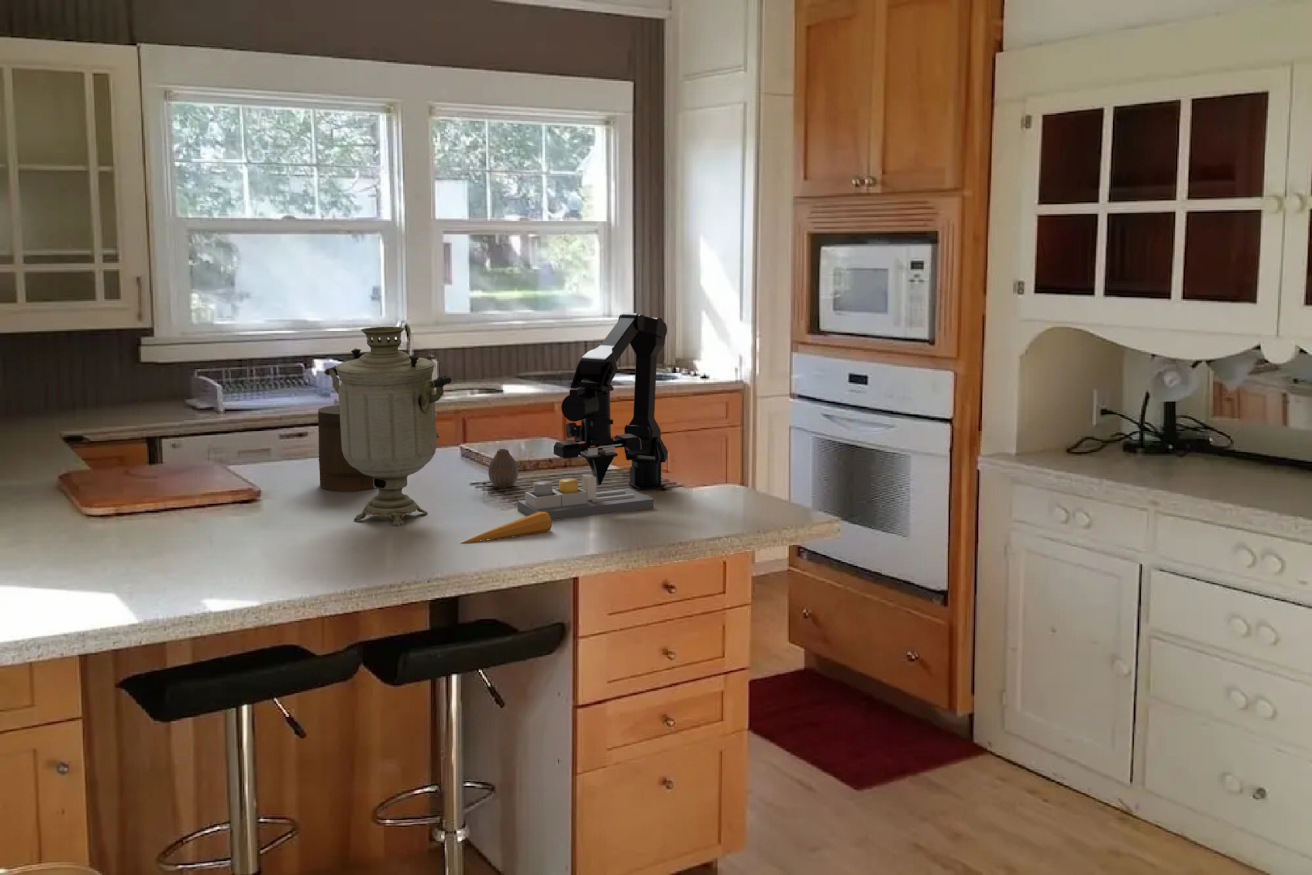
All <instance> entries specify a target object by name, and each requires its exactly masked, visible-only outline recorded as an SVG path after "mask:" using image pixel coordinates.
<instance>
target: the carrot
mask: <svg viewBox="0 0 1312 875" xmlns="http://www.w3.org/2000/svg"><path fill="white" fill-rule="evenodd" d="M552 528H553V520H552V518H551V516H549V514H548V513H546V512H537V513H534V514H531V515H529V516H528V515H526V516H524V517H522V518H518V519H516V520H513V521H511V522H508V523H506V524H503V525H501V526H498V527H495V528H492V529H490V530H488V531H484V532H483V533H480V534H478V535H475V536H473V537H471V538H469V539H467V540H464V541H462V542H461V544H468V543H467V542H471V543H475V542H474V541H480V540H487V539H495V540H500V539H499V538H502V539H506V538H505V537H510V538H513V537H512V536H517V537H521V536H520V535H524V536H530V535H531V536H532V535H537V534H544V533H547V532H549V531H551V530H552ZM480 542H481V541H480Z"/></svg>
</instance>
